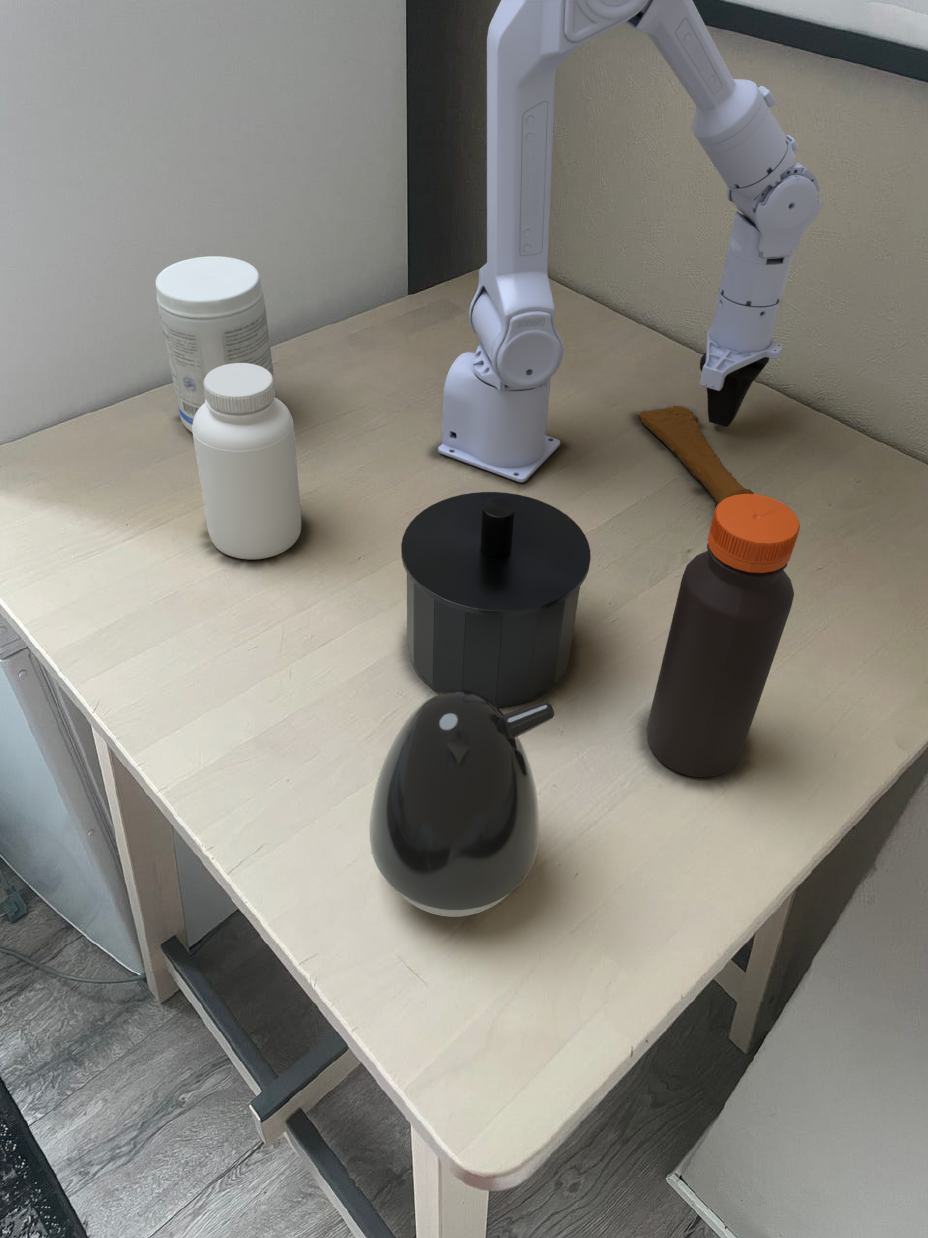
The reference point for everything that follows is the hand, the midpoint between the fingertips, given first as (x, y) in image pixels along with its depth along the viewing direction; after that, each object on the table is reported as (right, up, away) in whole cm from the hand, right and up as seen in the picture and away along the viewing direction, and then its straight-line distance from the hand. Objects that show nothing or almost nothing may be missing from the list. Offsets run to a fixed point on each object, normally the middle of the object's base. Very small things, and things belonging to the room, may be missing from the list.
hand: (720, 421), depth 103 cm
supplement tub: (-49, 0, -1) cm, 49 cm away
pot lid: (-23, -15, -30) cm, 41 cm away
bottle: (-9, -29, -30) cm, 43 cm away
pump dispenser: (-26, -36, -38) cm, 59 cm away
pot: (-24, -22, -24) cm, 40 cm away
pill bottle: (-44, -13, -14) cm, 48 cm away
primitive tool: (-4, -5, -4) cm, 8 cm away
